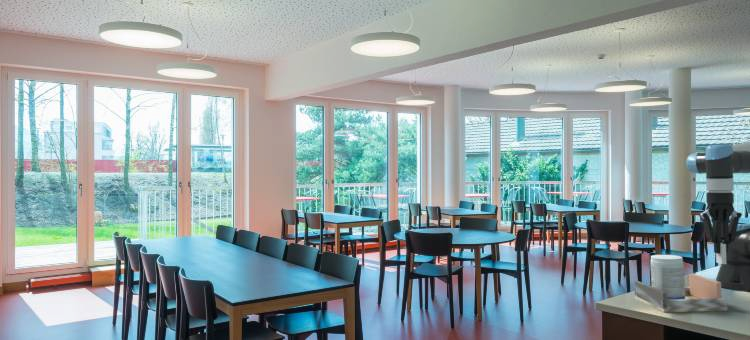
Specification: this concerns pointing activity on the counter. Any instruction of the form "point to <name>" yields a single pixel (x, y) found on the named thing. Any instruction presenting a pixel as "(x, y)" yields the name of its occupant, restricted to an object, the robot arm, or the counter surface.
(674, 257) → the supplement tub
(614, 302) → the counter surface
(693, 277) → the plate
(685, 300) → the grey tray
